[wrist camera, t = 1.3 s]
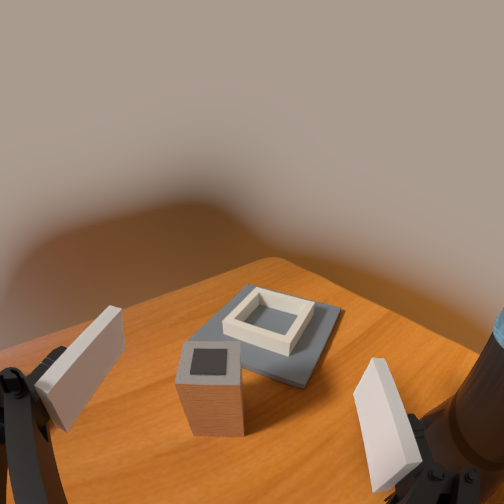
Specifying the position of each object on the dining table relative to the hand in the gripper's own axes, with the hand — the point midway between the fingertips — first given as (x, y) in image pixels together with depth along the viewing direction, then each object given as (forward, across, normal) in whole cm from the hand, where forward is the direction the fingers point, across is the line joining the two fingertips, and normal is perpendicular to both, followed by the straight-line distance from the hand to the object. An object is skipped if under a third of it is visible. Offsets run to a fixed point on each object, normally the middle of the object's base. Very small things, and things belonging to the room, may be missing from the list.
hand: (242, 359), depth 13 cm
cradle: (+26, +4, -16) cm, 31 cm away
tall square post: (+10, -1, -18) cm, 21 cm away
